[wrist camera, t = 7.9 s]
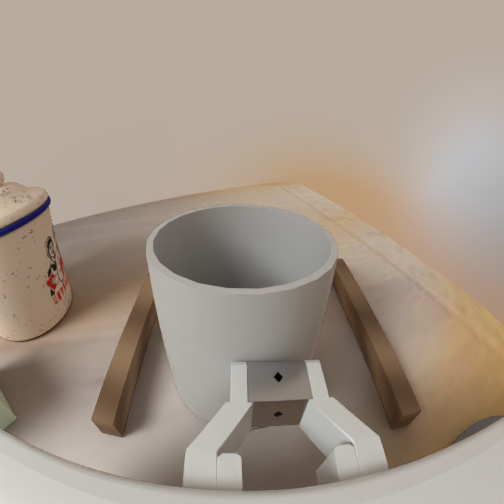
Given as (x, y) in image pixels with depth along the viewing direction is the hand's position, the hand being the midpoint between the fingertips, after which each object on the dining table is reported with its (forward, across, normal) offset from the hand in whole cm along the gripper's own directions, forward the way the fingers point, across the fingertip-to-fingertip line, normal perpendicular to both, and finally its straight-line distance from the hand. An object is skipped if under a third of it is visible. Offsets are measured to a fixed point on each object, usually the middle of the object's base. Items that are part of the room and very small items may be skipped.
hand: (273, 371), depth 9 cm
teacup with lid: (+9, +20, +6) cm, 23 cm away
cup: (+4, 0, +6) cm, 7 cm away
